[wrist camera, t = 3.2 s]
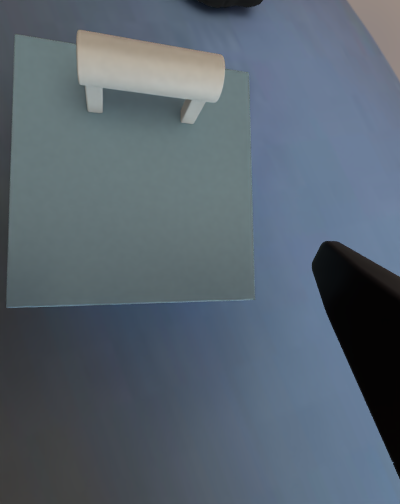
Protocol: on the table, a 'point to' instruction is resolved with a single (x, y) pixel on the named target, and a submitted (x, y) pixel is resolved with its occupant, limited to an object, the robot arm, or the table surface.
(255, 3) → the tape measure
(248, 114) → the compartment lid
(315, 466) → the table surface
